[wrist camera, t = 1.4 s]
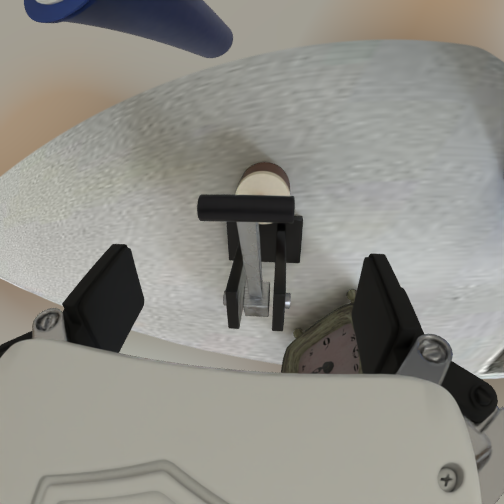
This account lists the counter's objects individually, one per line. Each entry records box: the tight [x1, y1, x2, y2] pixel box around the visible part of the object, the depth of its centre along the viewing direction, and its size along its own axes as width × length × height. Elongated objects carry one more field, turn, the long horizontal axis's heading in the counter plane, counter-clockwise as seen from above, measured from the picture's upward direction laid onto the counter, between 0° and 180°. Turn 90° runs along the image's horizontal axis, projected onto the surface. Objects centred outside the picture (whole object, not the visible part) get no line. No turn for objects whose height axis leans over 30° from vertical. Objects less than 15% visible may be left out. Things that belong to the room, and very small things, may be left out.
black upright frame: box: [223, 216, 303, 331], centre depth 31 cm, size 6×9×14 cm, turn 91°
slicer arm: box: [197, 195, 295, 317], centre depth 21 cm, size 15×5×2 cm, turn 1°
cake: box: [236, 162, 290, 224], centre depth 31 cm, size 6×6×6 cm
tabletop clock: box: [281, 289, 363, 374], centre depth 33 cm, size 14×9×25 cm, turn 140°
